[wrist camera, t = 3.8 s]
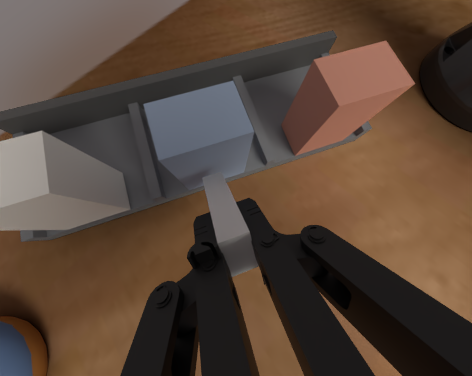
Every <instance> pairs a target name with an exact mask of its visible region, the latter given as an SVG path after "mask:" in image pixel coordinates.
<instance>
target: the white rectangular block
mask: <svg viewBox="0 0 472 376" xmlns="http://www.w3.org/2000/svg"><path fill="white" fill-rule="evenodd" d="M127 210H130V204H129V200H128V195H127V191H126V186H125V181H124V177H123V173H122V172H120V171H118V170H116V169H114V168H112V167H110V166H108V165H107V164H105V163H103V162H101V161H99V160H97V159H95V158H93V157H91V156H89V155H87V154H86V153H84V152H82V151H80V150H78V149H76V148H74V147H72V146H70V145H68V144H66V143H65V142H63V141H61V140H59V139H57V138H55V137H53V136H51V135H49V134H47V133H45V132H44V131H38V132H35V133H31V134H27V135H23V136H19V137H15V138H12V139H8V140H4V141H0V230H69V229H72V228H75V227H78V226H81V225H84V224H87V223H90V222H93V221H96V220H99V219H102V218H105V217H109V216H112V215H115V214H118V213H121V212H124V211H127Z"/></svg>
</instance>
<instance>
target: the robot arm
mask: <svg viewBox="0 0 472 376" xmlns="http://www.w3.org/2000/svg"><path fill="white" fill-rule="evenodd" d="M420 80H421V84H422V87H423V90H424V92H425V94H426V96H427V98H428V99H429V101H430V102H431V104H432V105H433V106H434V107H435V108H436V109H437V111H438V112H440V113H441V114H442V115H443V116H444V117H445V118H447V119H448V120H449V121H451V122H452V123H454V124H456V125H457V126H459V127H461V128H463V129H466V130H468V131H471V132H472V22H471V23H469V24H468V25H466V26H464V27H463V28H461V29H459V30H458V31H456V32H454V33H453V34H451V35H450V36H448V37H447V38H446V39H444V40H443V41H442V42H441V43H440V44H439V45H437V46H436V47H435V48H434V49H433V50H432V51H431V52H429V53H428V54H427V56H426V57H425V58H424V60H423V62H422V64H421V69H420ZM202 179H203V183H204V187H205V192H206V196H207V200H208V205H209V209H210V212H209V213H206V214H203V215H201V216H198V217H196V219H195V221H194V235H195V244H194V245H193V246H192V247H191V248H190V250H189V252H188V255H187V259H188V261H189V262H190V264H191V265H192V267H193V269H192V270H191V271H190V273H189V274H187V275H186V276H185V277H184V278H182V279H181V280H180V281H178V282H177V283H175V282H173V281H167V282H164V283H162V284H160V285H159V286H157V287H156V288H155V289H154V290H153V292H152V293H151V294H150V296H149V298H148V300H147V303H146V306H145V309H144V311H143V314H142V317H141V320H140V322H139V325H138V328H137V331H136V334H135V336H134V339H133V342H132V345H131V348H130V350H129V353H128V356H127V359H126V361H125V364H124V367H123V370H122V373H121V375H120V376H195V370H196V361H197V352H198V343H199V345H200V359H201V372H202V376H259V372H258V368H257V365H256V361H255V357H254V354H253V350H252V346H251V343H250V339H249V335H248V332H247V328H246V324H245V321H244V317H243V313H242V310H241V306H240V303H239V299H238V295H237V292H236V288H235V286H234V283H233V280H232V277H233V276H236V275H238V274H241V273H243V272H246V271H248V270H251V269H253V268H256V267H258V265H259V268H260V270H261V273H262V277H263V281H264V284H266V286H267V289H268V291H269V293H270V296H271V298H272V301H273V303H274V305H275V308H276V310H277V312H278V315H279V317H280V319H281V322H282V324H283V326H284V329H285V331H286V334H287V336H288V338H289V341H290V343H291V345H292V348H293V350H294V352H295V355H296V357H297V359H298V362H299V364H300V366H301V369H302V371H303V374H304V376H375V375H374V373H373V372H372V370H371V369H370V367H369V366H368V364H367V363H366V361H365V360H364V359H363V357H362V356H361V354H360V353H359V351H358V350H357V348H356V347H355V345H354V344H353V342H352V341H351V339H350V338H349V336H348V335H347V333H346V332H345V330H344V329H343V327H342V326H341V324H340V323H339V321H338V320H337V318H336V317H335V315H334V314H333V312H332V311H331V309H330V308H329V306H328V305H327V303H326V302H325V300H324V299H323V297H322V296H321V294H322V295H323V296H324V297H325V298H326V299H327V300H328V301H329V302H330V303H331V304H332V305H333V306H334V307H335V308H336V309H337V310H338V311H339V312H340V313H341V314H342V315H343V316H344V317H345V318H346V319H347V320H348V321H349V322H350V323H351V324H352V325H353V326H354V327H355V328H356V329H357V330H358V331H359V332H360V333H361V334H362V335H363V336H364V337H365V338H366V339H367V340H368V341H369V342H370V343H371V344H372V345H373V346H374V347H375V348H376V349H377V350H378V351H379V352H380V353H381V354H382V356H383V357H384V358H385V359H386V360H387V361H388V362H389V363H390V364H391V365H392V366H393V367H394V368H395V369H396V370H397V371H398V372H399V373H400V374H401V375H402V376H472V323H471V322H469V321H468V320H466V319H464V318H463V317H461V316H460V315H458V314H457V313H455V312H454V311H452V310H451V309H449V308H448V307H446V306H445V305H443V304H441V303H440V302H438V301H437V300H435V299H434V298H432V297H431V296H429V295H428V294H426V293H425V292H423V291H422V290H420V289H419V288H417V287H415V286H414V285H412V284H411V283H409V282H408V281H406V280H405V279H403V278H402V277H400V276H399V275H397V274H396V273H394V272H392V271H391V270H389V269H388V268H386V267H385V266H383V265H382V264H380V263H379V262H377V261H376V260H374V259H373V258H371V257H370V256H368V255H366V254H365V253H363V252H362V251H360V250H359V249H357V248H356V247H354V246H353V245H351V244H350V243H348V242H347V241H345V240H343V239H342V238H340V237H339V236H337V235H336V234H334V233H333V232H331V231H330V230H328V229H327V228H324V227H322V226H319V225H309V226H307V227H304V228H303V229H302V231H301V234H293V235H285V234H280V233H278V232H277V231H275V230H274V229H273V228H272V227H271V225H270V224H269V222H268V220H267V219H266V217H265V216H264V214H263V213H262V212H261V210H260V208H259V207H258V205H257V203H256V202H255V201H254V200H252V199H250V198H247V199H244V200H241V201H239V202H235V200H234V198H233V195H232V193H231V191H230V189H229V187H228V185H227V183H226V181H225V179H224V176H223V174H222V172H218V173H215V174H212V175H209V176H206V177H203V178H202ZM319 292H320V293H321V294H320V293H319Z"/></svg>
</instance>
